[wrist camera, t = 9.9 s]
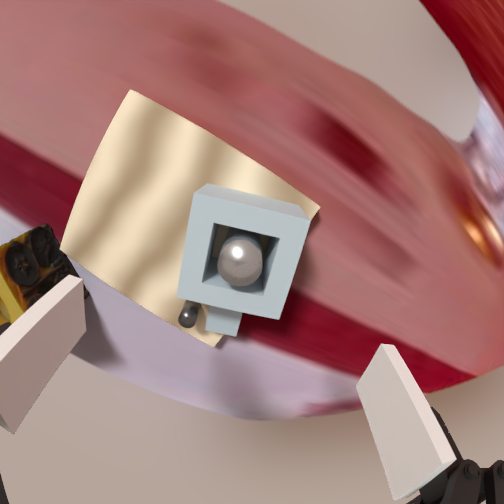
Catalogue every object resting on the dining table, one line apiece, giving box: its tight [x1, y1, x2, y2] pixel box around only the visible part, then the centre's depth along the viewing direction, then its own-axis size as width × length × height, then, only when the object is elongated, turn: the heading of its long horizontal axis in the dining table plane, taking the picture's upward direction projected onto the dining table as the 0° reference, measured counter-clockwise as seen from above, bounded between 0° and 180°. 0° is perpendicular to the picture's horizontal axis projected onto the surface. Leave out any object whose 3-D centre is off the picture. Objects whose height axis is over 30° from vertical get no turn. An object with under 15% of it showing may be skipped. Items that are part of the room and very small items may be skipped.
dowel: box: [178, 300, 201, 328], centre depth 26 cm, size 2×2×3 cm
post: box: [217, 227, 262, 286], centre depth 22 cm, size 3×3×6 cm
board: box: [60, 89, 320, 347], centre depth 26 cm, size 20×18×2 cm
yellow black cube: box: [0, 224, 89, 325], centre depth 24 cm, size 10×10×10 cm
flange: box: [177, 184, 311, 337], centre depth 24 cm, size 13×8×6 cm, turn 166°
